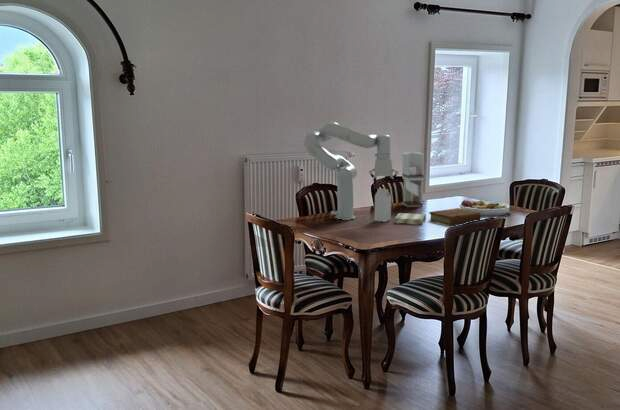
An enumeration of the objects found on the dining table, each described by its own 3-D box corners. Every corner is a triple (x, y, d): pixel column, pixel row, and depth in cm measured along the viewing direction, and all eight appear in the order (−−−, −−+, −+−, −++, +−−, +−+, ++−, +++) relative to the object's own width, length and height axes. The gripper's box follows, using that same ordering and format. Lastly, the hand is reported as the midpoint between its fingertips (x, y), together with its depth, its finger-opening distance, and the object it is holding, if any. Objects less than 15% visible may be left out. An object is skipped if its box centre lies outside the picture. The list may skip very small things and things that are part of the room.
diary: (451, 227, 346) (451, 217, 345) (428, 221, 362) (429, 212, 361) (480, 222, 357) (480, 212, 356) (457, 217, 373) (457, 207, 372)
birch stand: (394, 223, 355) (394, 218, 354) (398, 218, 370) (398, 213, 369) (422, 224, 350) (422, 219, 350) (425, 219, 365) (425, 214, 365)
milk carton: (384, 222, 358) (385, 190, 355) (374, 220, 362) (374, 189, 359) (391, 220, 363) (391, 188, 360) (380, 218, 368) (380, 187, 364)
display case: (401, 204, 416) (402, 152, 410) (416, 203, 418) (417, 152, 412) (407, 207, 405) (408, 154, 399) (422, 206, 407) (423, 154, 401)
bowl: (503, 208, 398) (504, 196, 397) (514, 217, 369) (514, 204, 367) (456, 208, 401) (456, 196, 400) (463, 217, 372) (463, 204, 370)
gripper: (367, 156, 355) (367, 186, 358) (397, 156, 350) (397, 186, 353) (370, 155, 362) (370, 184, 365) (399, 155, 357) (399, 184, 360)
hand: (383, 185), depth 359 cm, fingers open, 9 cm apart
